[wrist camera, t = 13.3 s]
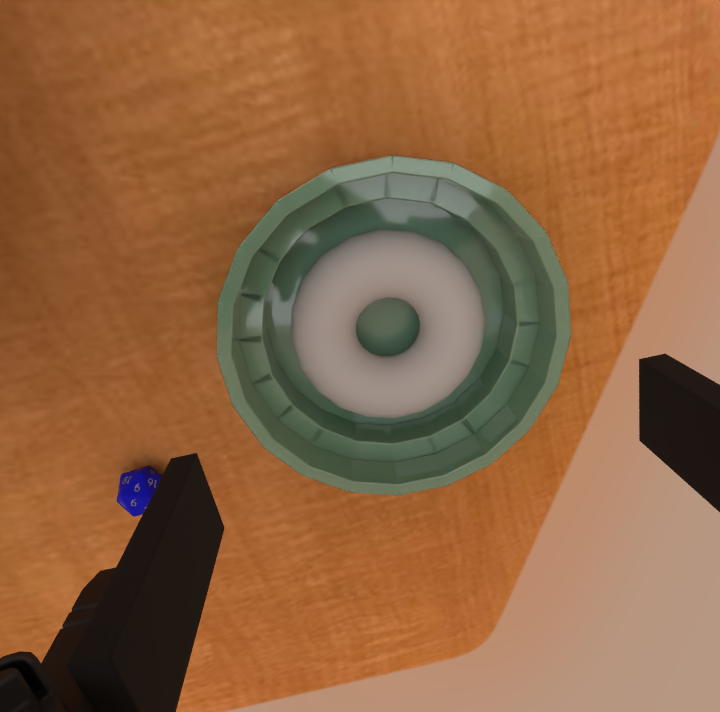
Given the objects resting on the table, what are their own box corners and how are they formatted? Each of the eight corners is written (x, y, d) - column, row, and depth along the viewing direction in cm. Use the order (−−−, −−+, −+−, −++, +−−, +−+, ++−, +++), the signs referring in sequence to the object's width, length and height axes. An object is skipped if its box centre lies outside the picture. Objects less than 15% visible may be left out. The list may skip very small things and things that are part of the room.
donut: (510, 323, 29) (396, 181, 26) (533, 345, 26) (406, 185, 23) (374, 432, 31) (252, 312, 28) (380, 464, 28) (243, 333, 24)
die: (181, 471, 32) (168, 521, 30) (150, 476, 33) (135, 524, 31) (148, 455, 30) (132, 507, 28) (116, 460, 31) (98, 510, 29)
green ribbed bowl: (278, 469, 32) (269, 522, 27) (196, 196, 26) (166, 203, 21) (542, 415, 32) (578, 459, 27) (517, 126, 26) (558, 118, 21)
